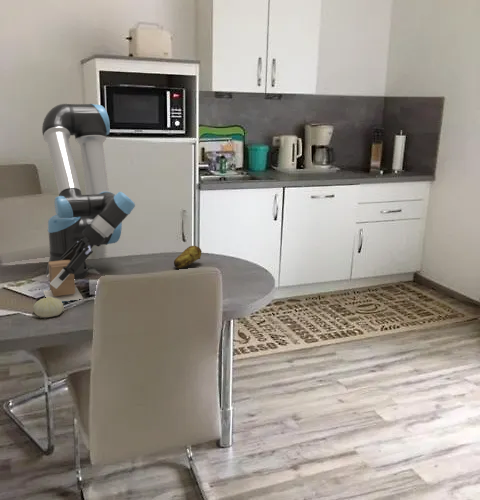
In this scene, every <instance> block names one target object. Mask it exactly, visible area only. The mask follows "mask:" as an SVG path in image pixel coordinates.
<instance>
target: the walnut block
mask: <svg viewBox="0 0 480 500" xmlns="http://www.w3.org/2000/svg"><path fill="white" fill-rule="evenodd" d="M69 262H70V260H59V261H50V262H49V261H48V263H47V265H48V264H49V277H50V279H49V288H50V289H49V290H51V292H52V294H53V296H60V295H67V294H75V287H76V284H75V282H76V280H74V274H70V275H69V276H68V277H67V278H66V279H65V280H64V281H63V282H62V283H61V285H60V286H59V287H58V288H57V289H56V288H55V287H53V286H52V285H50V283H51V282H52V280H53V279H54V278H55V277H56V276H57V275H58V274H59V273H60V272H61V271H62V269H63V267H65V268H66V266H67V265H68V264H69Z"/></svg>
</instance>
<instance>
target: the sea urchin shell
mask: <svg viewBox="0 0 480 500" xmlns="http://www.w3.org/2000/svg"><path fill="white" fill-rule="evenodd" d="M64 307H65V306H64V303H62V301H60V300H59V299H56V298H52V297H46V298H45V297H43V298H40V299H39V300H37V301H36V302H35V303H34V305H33V307H32V310H33V313H34V314H35V315H36V316H37V317H40V318H52V317H57V316H59V315H61V314H62V313H63V312H64Z"/></svg>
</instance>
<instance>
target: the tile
mask: <svg viewBox="0 0 480 500" xmlns="http://www.w3.org/2000/svg"><path fill="white" fill-rule="evenodd" d="M44 295H45V296H44ZM43 296H44V298H45V297H52V298H56V299H59V300H60V301H70V300H79V299H84V298H83V296H82V293H80V291H79V289H78V287H77V286H75V294H67V295H60V296H53V294H52V292H51V290H50V289H48V290H43Z"/></svg>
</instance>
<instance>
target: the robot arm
mask: <svg viewBox="0 0 480 500" xmlns="http://www.w3.org/2000/svg"><path fill="white" fill-rule="evenodd" d="M110 125H111V124H110V117H109V115H108V112H107V110H106V108H105V107H104V106H103V105H101V104H96V103H95V104H94V103H60V104H58V105H56V106H54V107H51V109H50V110H49V111H48V112H47V113H46V115H45V117H44V118H43V122H42V126H41V130H42V131H41V132H42V138H43V140H44V141H45V142H46V143H47V148H48V151H49V154H50V155H49V156H50V161H51V166H52V169H53V173H54V178H55V182H56V188H57V191H58V195H59V196H55V198H54V209H55V215H52V216H51V217H50V218H49V219H48V222H47V232H48V245H49V258H48V262H50V261H59V260H70V262H69V264H68V265H67V266H66V268H65V267H63V269H62V271H61V272H60V273H59V274H58V275H57V276H56V277H55V278H54V279H53V280H52V282H51V283H50V282H49V286H50V285H52V286H53V287H55V288H56V289H57V288H58V287H59V286H60V285H61V283H62V282H63V281H64V280H65V279H66V278H67V277H68V276H69V275H70V274H74V279H75V280H79V278H80V279H82V277H83V278H85V277H86V276H88V274H89V269H88V265H87V263H86V260H87V258H88V257H90V256H91V255H92V253H93V250H92V248H93V247H94V246H96V247H101V246H103V245H104V246H105V245H106V246H107V245H111V244H115V243H118V242H119V241H120V239H121V235H122V229H123V228H122V226H123V225H122V224H123V223H122V222H123V221H124V220H125V219H126V218H127V217H128V216H129V215H130V214H131V213H132V211H133V210H134V209H135V207H136V204H135V202H134V201H133V200H132V199H131V198H130V197H129V196H128V195H126V193H124V192H123V191H118V192H117V193H116V194H115V193H113V192H111V191H110V190H109V183H108V175H107V174H108V173H107V167H106V156H105V150H104V142H105V141H106V140H107V136H108V135H110V133H111V131H110V130H111V128H110ZM71 136H74V139H75V142H77V144H78V145H79V147H80V154H81V155H80V156H81V163H82V164H81V165H82V173H83V180H84V187H85V189H84V190H85V194H82V189H81V186H80V182H79V177H78V172H77V169H76V165H75V164H76V163H75V161H74V157H73V152H72V148H71V143H70V138H71ZM45 272H46V278H47V279H49V280H50V277H49V264H48V263H47V266H46V271H45Z"/></svg>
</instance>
